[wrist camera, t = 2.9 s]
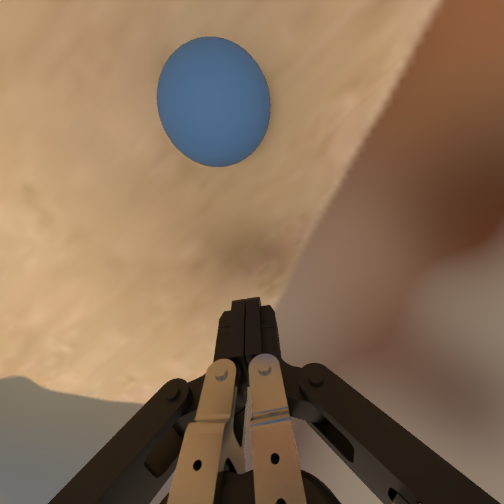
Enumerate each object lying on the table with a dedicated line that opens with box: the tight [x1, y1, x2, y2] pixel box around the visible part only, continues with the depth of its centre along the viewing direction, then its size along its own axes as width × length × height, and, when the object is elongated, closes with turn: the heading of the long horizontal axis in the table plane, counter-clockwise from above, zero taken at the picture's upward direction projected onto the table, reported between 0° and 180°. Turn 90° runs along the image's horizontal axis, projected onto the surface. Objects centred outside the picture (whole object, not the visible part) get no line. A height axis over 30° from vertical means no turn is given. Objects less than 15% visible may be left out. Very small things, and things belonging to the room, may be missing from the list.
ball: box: [157, 37, 270, 167], centre depth 14 cm, size 6×6×6 cm
